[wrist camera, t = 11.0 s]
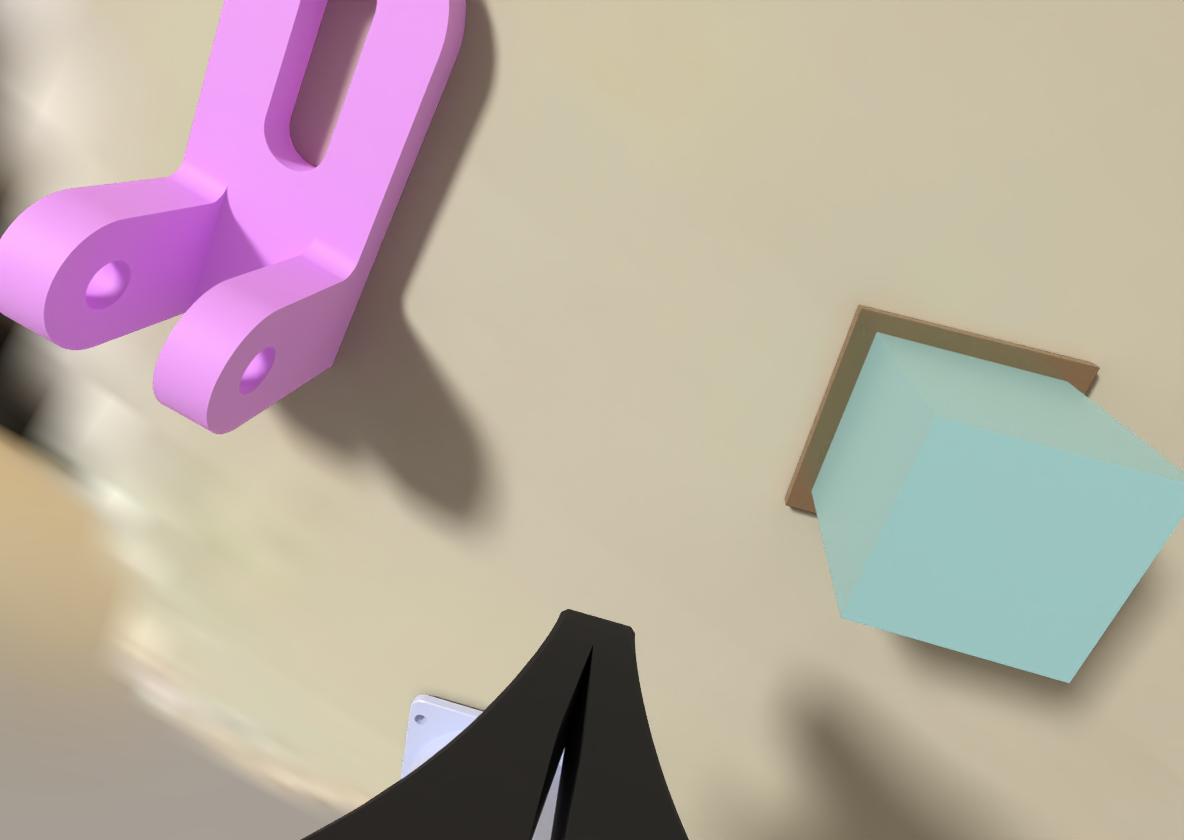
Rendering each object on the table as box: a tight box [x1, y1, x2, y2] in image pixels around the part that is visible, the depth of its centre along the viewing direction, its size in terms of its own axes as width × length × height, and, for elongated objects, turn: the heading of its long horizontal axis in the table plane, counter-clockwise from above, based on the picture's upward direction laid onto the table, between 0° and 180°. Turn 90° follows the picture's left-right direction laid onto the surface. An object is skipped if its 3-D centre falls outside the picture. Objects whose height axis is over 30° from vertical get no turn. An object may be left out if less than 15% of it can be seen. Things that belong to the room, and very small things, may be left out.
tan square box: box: [785, 305, 1099, 513], centre depth 19 cm, size 6×6×4 cm
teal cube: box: [811, 332, 1184, 683], centre depth 18 cm, size 5×5×6 cm
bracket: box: [0, 0, 466, 434], centre depth 17 cm, size 13×6×7 cm, turn 150°
